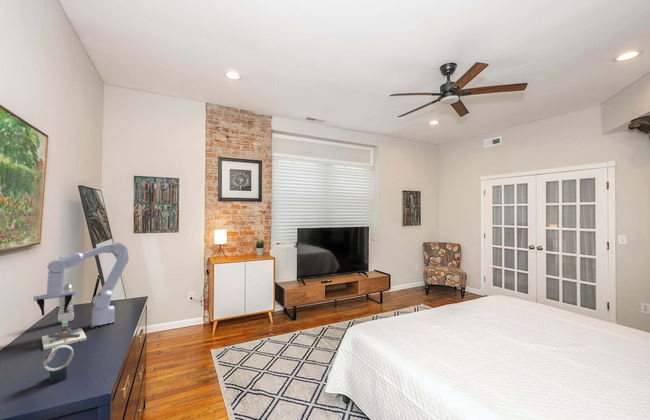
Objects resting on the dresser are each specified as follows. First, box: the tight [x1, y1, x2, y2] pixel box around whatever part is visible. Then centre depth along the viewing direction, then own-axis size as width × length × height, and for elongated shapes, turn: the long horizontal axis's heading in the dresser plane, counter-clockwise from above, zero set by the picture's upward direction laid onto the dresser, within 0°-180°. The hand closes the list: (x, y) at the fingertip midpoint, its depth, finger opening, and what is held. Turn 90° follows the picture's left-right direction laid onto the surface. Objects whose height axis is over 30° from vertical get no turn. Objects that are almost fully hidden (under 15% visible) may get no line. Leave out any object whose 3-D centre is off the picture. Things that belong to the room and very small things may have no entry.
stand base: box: [41, 327, 88, 351], centre depth 129 cm, size 14×16×4 cm
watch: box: [41, 344, 75, 385], centre depth 98 cm, size 6×8×11 cm
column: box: [57, 310, 72, 327], centre depth 129 cm, size 4×4×6 cm
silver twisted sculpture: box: [57, 283, 76, 324], centre depth 151 cm, size 6×7×20 cm
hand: (54, 313), depth 134 cm, fingers open, 7 cm apart
